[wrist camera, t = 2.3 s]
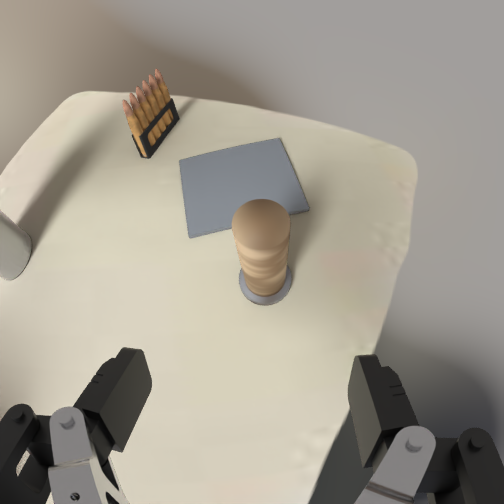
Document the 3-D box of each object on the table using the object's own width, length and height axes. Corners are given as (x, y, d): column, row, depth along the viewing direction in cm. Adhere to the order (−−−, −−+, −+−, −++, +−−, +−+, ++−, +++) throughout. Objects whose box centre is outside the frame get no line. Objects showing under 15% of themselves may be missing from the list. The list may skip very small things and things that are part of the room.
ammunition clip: (149, 159, 45) (124, 104, 35) (141, 157, 46) (115, 103, 35) (179, 118, 49) (163, 65, 39) (171, 117, 50) (154, 65, 39)
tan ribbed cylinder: (246, 310, 33) (231, 266, 22) (235, 264, 36) (216, 201, 24) (296, 298, 34) (309, 247, 22) (283, 252, 36) (286, 185, 25)
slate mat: (189, 238, 38) (188, 236, 37) (180, 162, 44) (179, 160, 44) (308, 210, 39) (309, 208, 38) (279, 140, 45) (279, 138, 44)
